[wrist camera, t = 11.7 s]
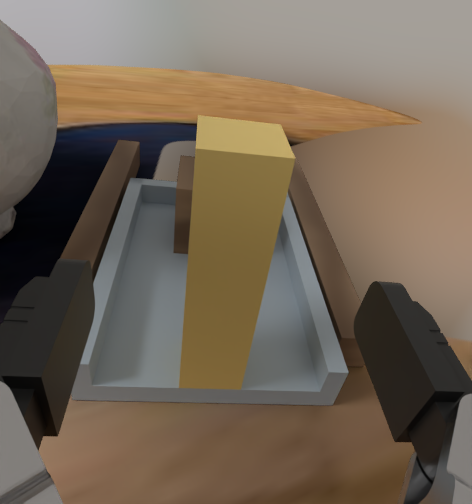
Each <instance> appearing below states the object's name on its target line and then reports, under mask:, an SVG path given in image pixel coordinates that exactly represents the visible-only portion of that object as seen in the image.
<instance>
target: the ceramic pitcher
mask: <svg viewBox="0 0 472 504" xmlns="http://www.w3.org/2000/svg"><path fill="white" fill-rule="evenodd" d="M57 122H58V116H57V98H56V84H55V81H54V79H53V76H52V74H51V71H50V69H49V67H48V66H47V64H46V63H45V62H44V60H43V59H42V58H41V56H40V55H39V54H38V53H37V51H36V50H35V49H34V48H33V47H32V46H31V45H30V44H29V43H28V42H26V41H25V40H24V39H23V38H22V37H21V36H19V35H18V34H17V33H16V32H15V31H13V30H12V29H11V28H10V27H8V26H7V25H6V24H4V23H3V22H2V21H1V20H0V238H2V237H3V236H4V235H6V234H7V233H8V232H9V231H11V230H12V228H13V225H14V221H15V217H16V211H15V209H14V207H13V206H15V205H16V204H18V203H19V202H20V201H21V200H22V199H23V198H24V197H25V196H26V195H28V193H29V192H30V191H31V190H32V188H33V187H34V186H35V185H36V183H37V182H38V181H39V179H40V178H41V176H42V174H43V172H44V170H45V168H46V166H47V164H48V162H49V160H50V157H51V154H52V150H53V147H54V144H55V140H56V131H57Z"/></svg>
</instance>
